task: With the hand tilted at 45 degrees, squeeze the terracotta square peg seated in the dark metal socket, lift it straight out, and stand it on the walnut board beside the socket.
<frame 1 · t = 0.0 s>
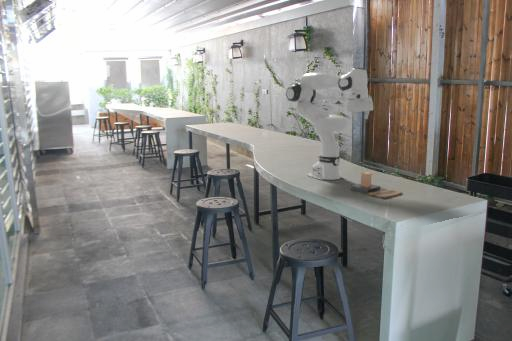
hand: (361, 119, 270), 39 cm above the table, tool pointing down, fingers open, 8 cm apart
socket: (365, 190, 262), on the table
peg: (366, 181, 261), in the socket
board: (385, 194, 252), on the table
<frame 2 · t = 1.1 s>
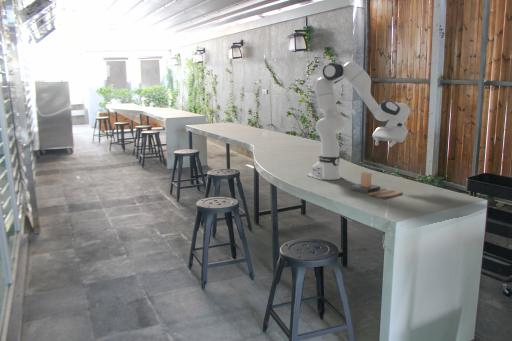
hand: (382, 145, 265), 24 cm above the table, tool tilted 45°, fingers open, 8 cm apart
nothing on the table moved.
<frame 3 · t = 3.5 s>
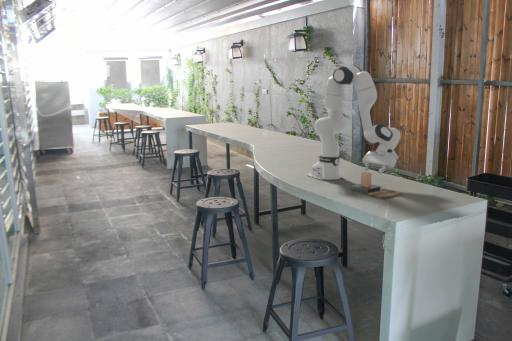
hand: (372, 171, 263), 10 cm above the table, tool tilted 45°, fingers open, 8 cm apart
nothing on the table moved.
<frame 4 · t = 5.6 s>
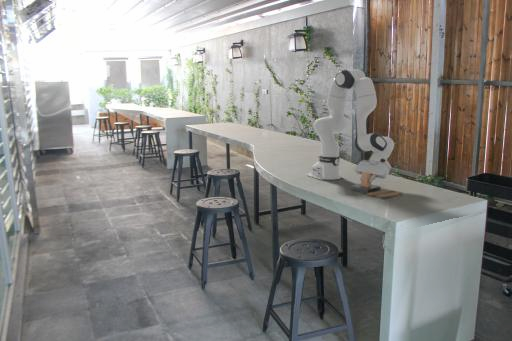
hand: (365, 181, 260), 5 cm above the table, tool tilted 45°, fingers closed on peg, 4 cm apart
peg: (366, 181, 261), in the socket, touching gripper
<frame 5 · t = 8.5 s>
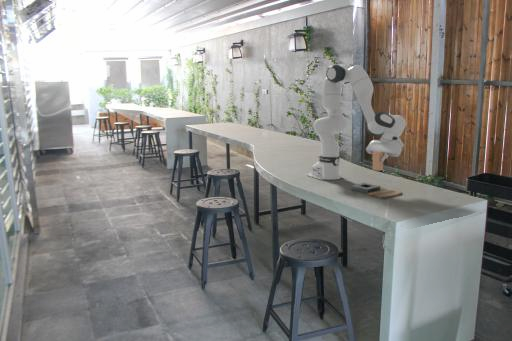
hand: (377, 160, 252), 18 cm above the table, tool tilted 45°, fingers closed on peg, 4 cm apart
peg: (377, 160, 252), point 18 cm above the table, touching gripper
when the fingers open (8 cm above the table, at t = 11.5 s): peg drops 1 cm, resting on board.
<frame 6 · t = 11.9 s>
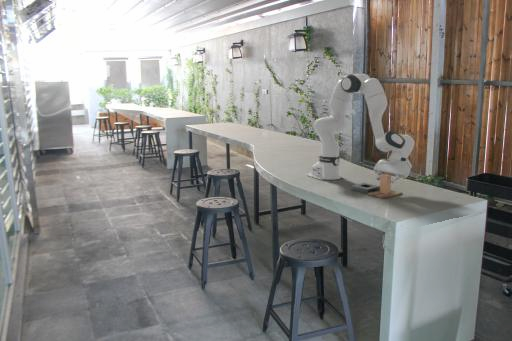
hand: (385, 180, 250), 8 cm above the table, tool tilted 45°, fingers open, 8 cm apart
peg: (385, 183, 251), on the board, point 6 cm above the table
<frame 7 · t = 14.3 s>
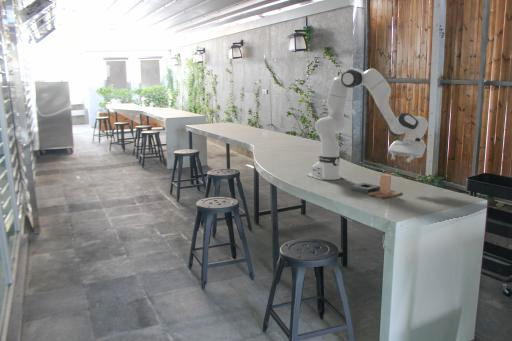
hand: (399, 160, 256), 17 cm above the table, tool tilted 45°, fingers open, 8 cm apart
nothing on the table moved.
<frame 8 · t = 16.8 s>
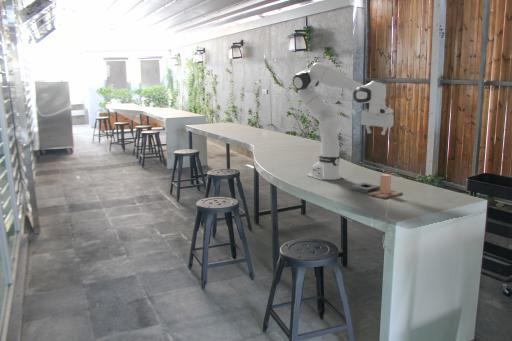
hand: (375, 133, 263), 31 cm above the table, tool pointing down, fingers open, 8 cm apart
nothing on the table moved.
at the end: peg inside the target area on the board (0.1 cm from its centre), point 6.0 cm above the board's base; peg tilted 0°; the gripper is holding nothing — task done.
